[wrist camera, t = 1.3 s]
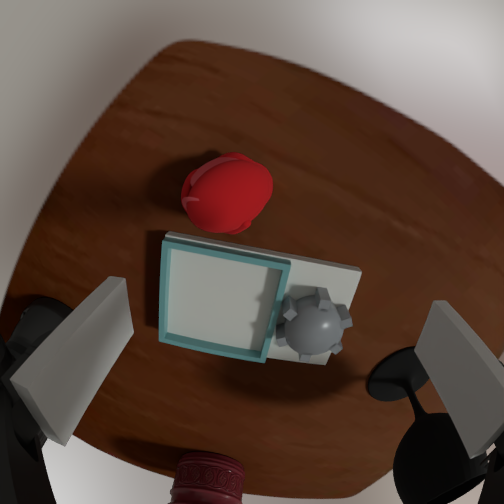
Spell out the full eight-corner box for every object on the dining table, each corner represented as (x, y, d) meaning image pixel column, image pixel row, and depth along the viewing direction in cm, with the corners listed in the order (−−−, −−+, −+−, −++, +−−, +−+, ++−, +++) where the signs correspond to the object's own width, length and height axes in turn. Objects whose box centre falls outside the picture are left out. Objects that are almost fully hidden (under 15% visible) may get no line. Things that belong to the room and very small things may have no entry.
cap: (188, 248, 24) (244, 260, 21) (158, 189, 21) (217, 189, 17) (237, 197, 29) (290, 201, 26) (218, 144, 25) (275, 140, 22)
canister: (180, 470, 46) (163, 537, 29) (177, 444, 41) (154, 525, 24) (241, 481, 46) (234, 549, 29) (250, 456, 41) (242, 541, 24)
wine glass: (446, 345, 31) (513, 455, 12) (416, 397, 34) (456, 502, 15) (383, 345, 31) (441, 487, 12) (357, 401, 34) (384, 525, 16)
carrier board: (164, 329, 32) (153, 349, 28) (169, 231, 27) (155, 243, 24) (324, 358, 32) (328, 379, 28) (358, 267, 27) (369, 283, 24)
